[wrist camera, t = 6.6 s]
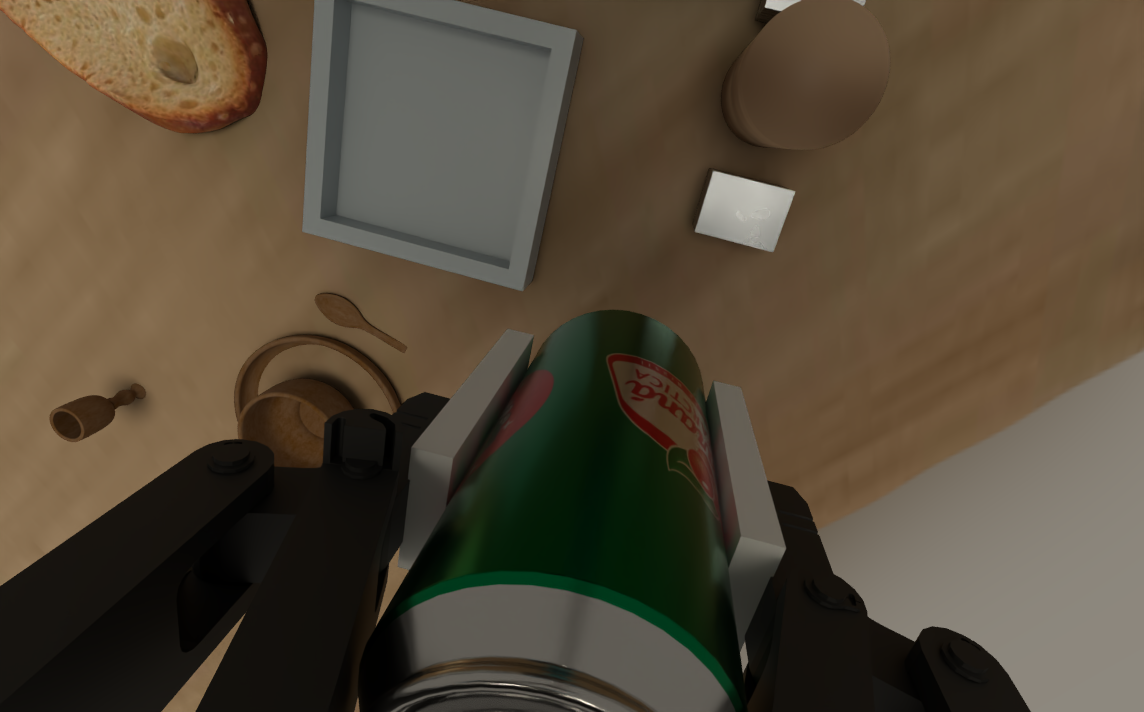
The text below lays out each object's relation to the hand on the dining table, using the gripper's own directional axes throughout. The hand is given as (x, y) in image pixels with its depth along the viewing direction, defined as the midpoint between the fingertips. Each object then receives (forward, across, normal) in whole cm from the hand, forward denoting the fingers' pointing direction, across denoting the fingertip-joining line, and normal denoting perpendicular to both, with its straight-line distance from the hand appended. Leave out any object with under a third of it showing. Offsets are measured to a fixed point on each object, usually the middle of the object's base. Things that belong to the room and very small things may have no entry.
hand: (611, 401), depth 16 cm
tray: (+18, -12, +4) cm, 22 cm away
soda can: (+1, 0, 0) cm, 1 cm away
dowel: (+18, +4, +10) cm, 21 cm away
